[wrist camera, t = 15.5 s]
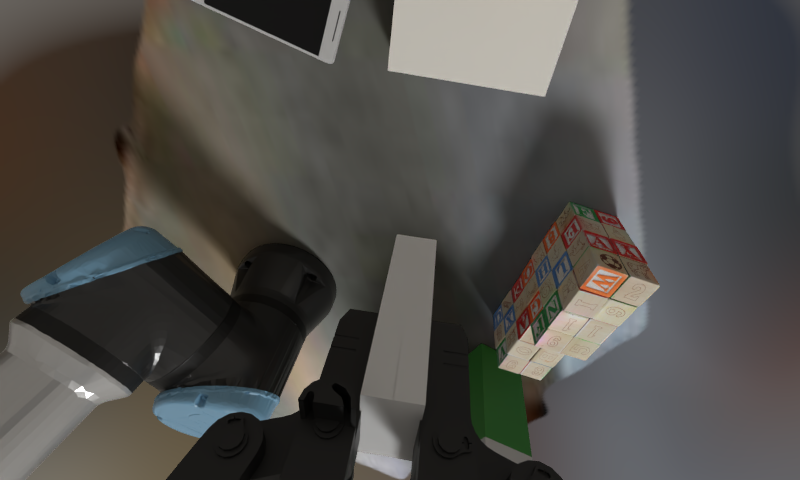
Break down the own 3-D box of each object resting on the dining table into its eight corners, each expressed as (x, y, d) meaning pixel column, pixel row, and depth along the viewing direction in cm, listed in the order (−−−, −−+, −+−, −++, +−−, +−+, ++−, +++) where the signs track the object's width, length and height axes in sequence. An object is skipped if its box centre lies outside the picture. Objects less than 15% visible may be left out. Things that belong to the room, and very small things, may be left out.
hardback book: (459, 405, 71) (456, 566, 52) (426, 391, 70) (410, 550, 50) (518, 361, 61) (543, 541, 41) (481, 343, 59) (488, 519, 40)
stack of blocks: (530, 327, 56) (544, 403, 46) (492, 315, 56) (497, 388, 46) (618, 215, 43) (663, 287, 33) (568, 199, 43) (599, 266, 33)
